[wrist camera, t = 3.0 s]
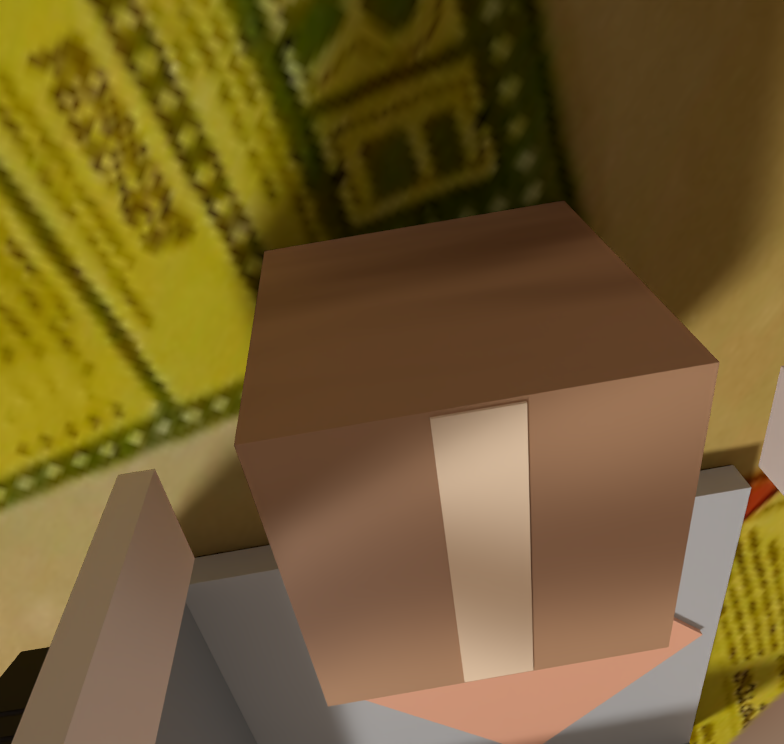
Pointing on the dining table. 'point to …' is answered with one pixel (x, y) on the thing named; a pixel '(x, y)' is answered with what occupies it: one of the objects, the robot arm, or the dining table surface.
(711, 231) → the dining table surface
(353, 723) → the tray
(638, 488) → the cardboard box
